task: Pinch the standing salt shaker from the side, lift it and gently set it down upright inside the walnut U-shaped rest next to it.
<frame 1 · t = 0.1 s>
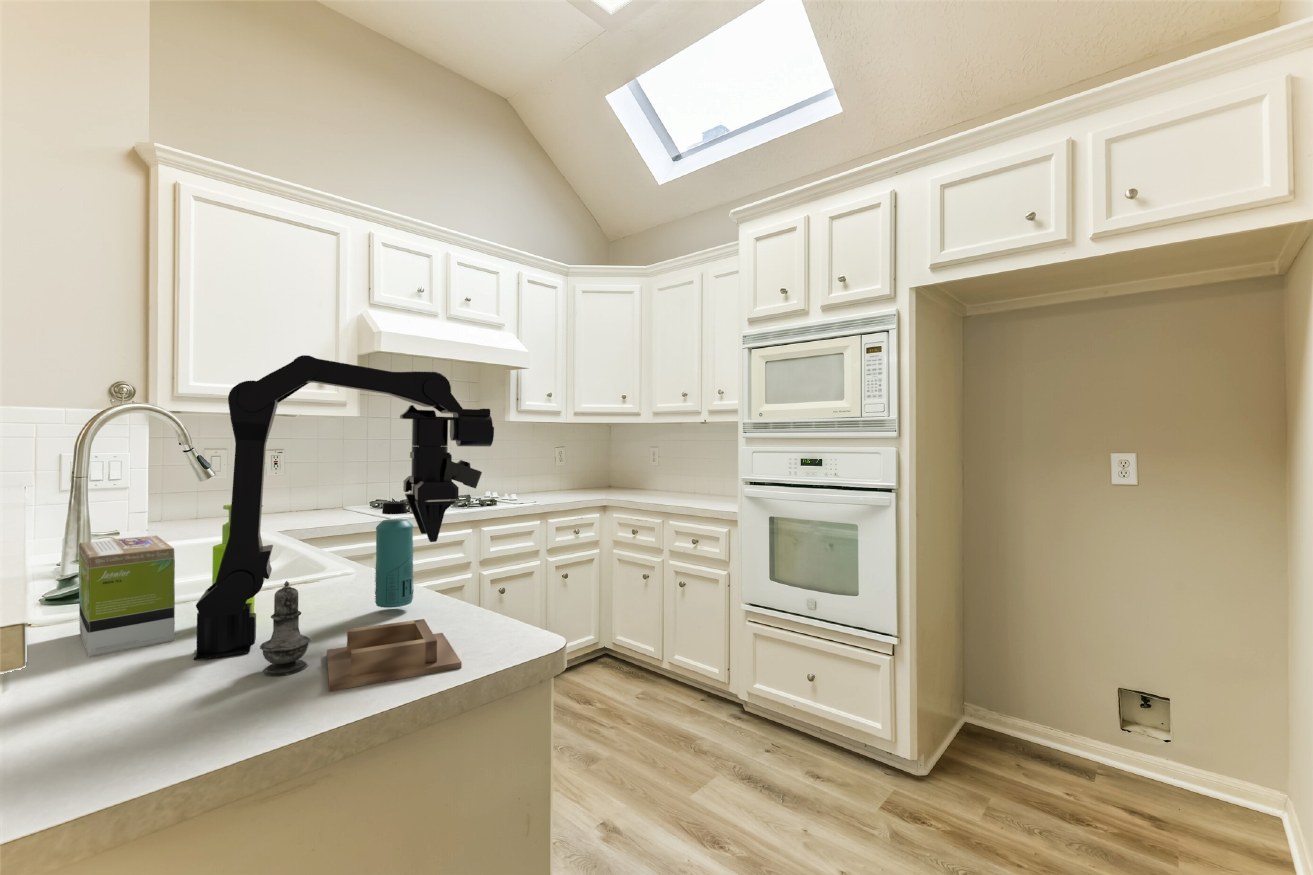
hand: (428, 537, 101), 15 cm above the countertop, fingers open, 9 cm apart
tea box: (125, 639, 92), on the countertop
soap dispenser: (236, 622, 101), on the countertop
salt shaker: (285, 670, 81), on the countertop
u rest: (392, 661, 84), on the countertop
beverage bottle: (393, 612, 108), on the countertop
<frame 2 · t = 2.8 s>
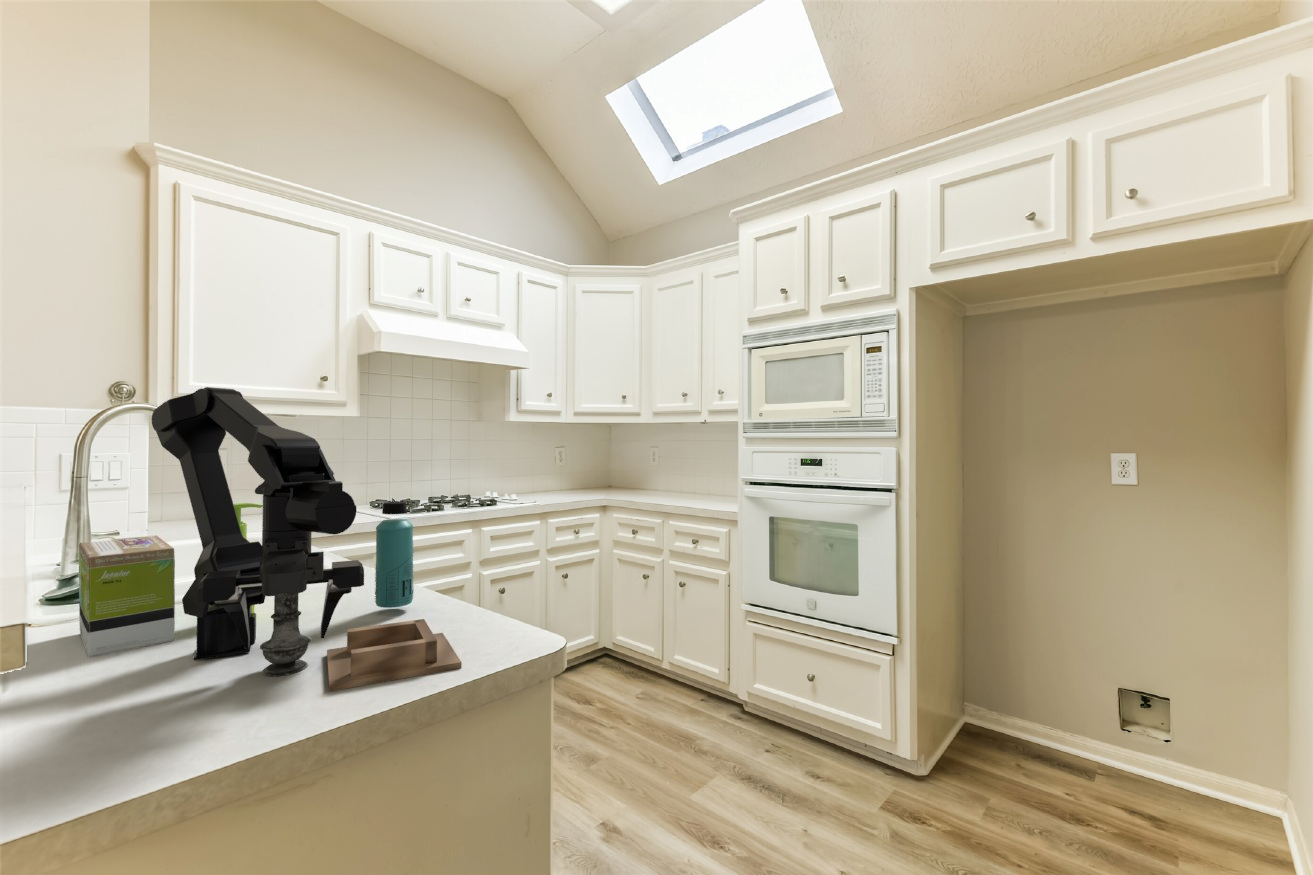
hand: (285, 642, 81), 4 cm above the countertop, fingers closed on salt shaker, 8 cm apart
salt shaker: (285, 670, 81), on the countertop, touching gripper
everything else where it was.
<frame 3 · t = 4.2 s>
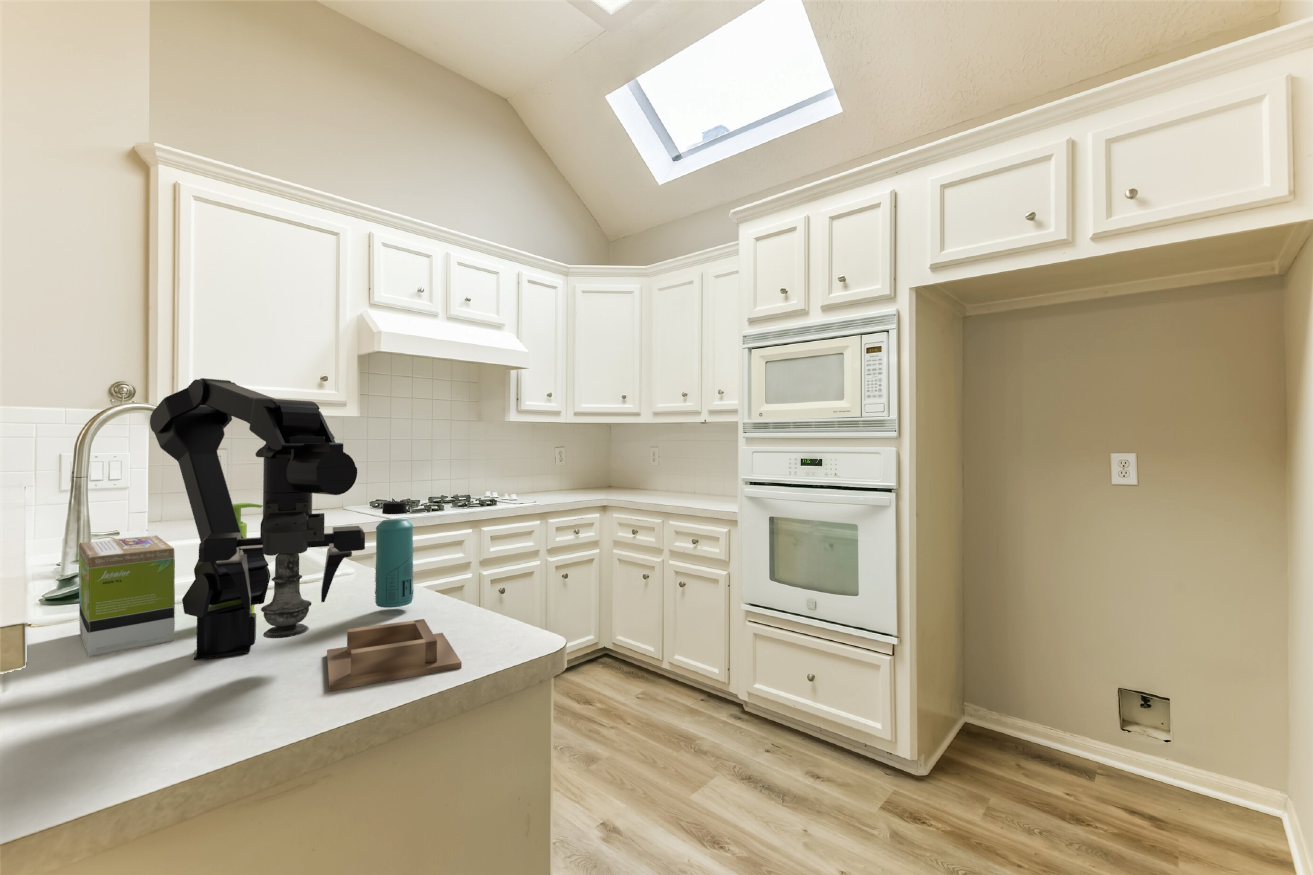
hand: (286, 605, 81), 9 cm above the countertop, fingers closed on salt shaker, 8 cm apart
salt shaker: (286, 633, 81), point 5 cm above the countertop, touching gripper
everything else where it was.
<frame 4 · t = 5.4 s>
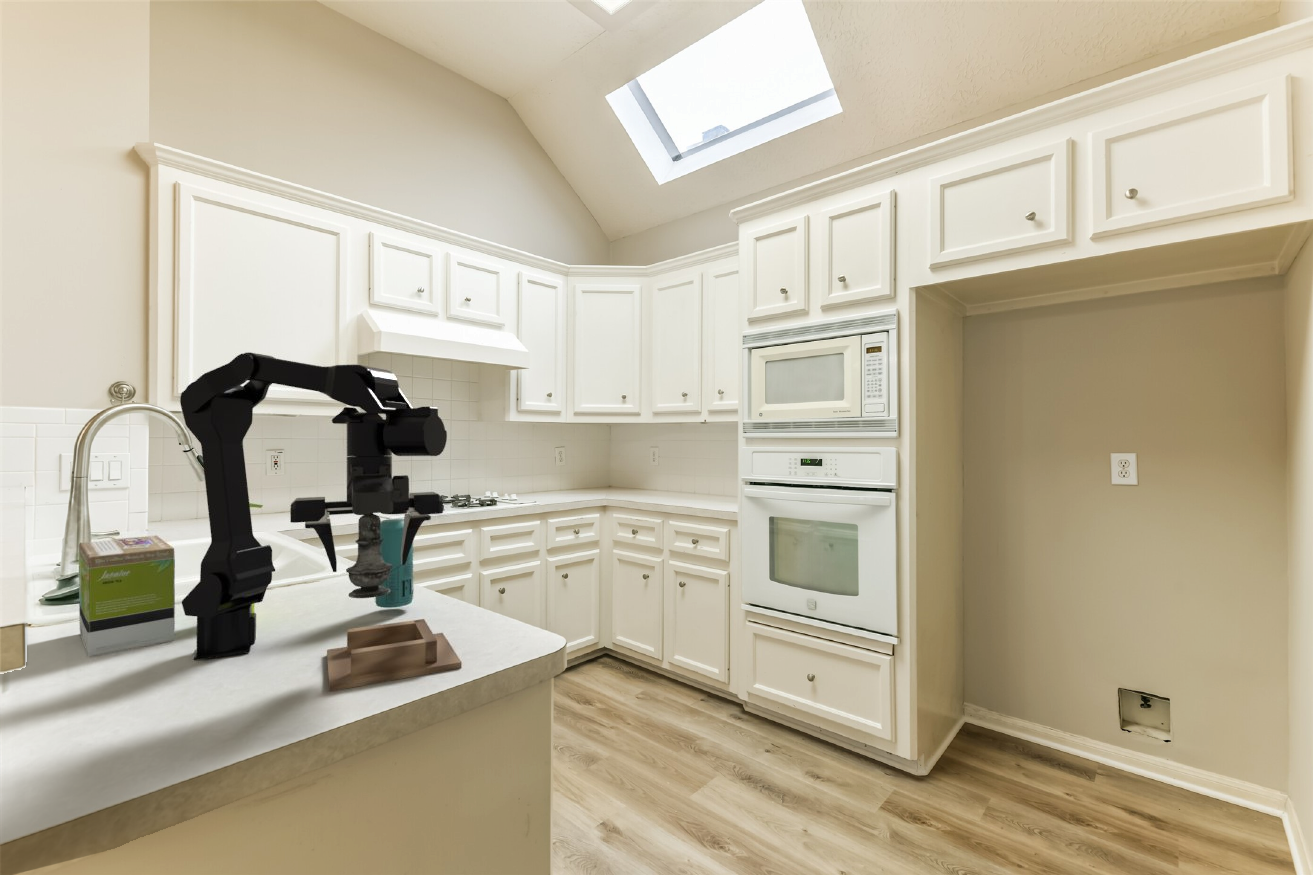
hand: (369, 568, 83), 13 cm above the countertop, fingers closed on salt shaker, 8 cm apart
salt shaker: (369, 594, 83), point 10 cm above the countertop, touching gripper
everything else where it was.
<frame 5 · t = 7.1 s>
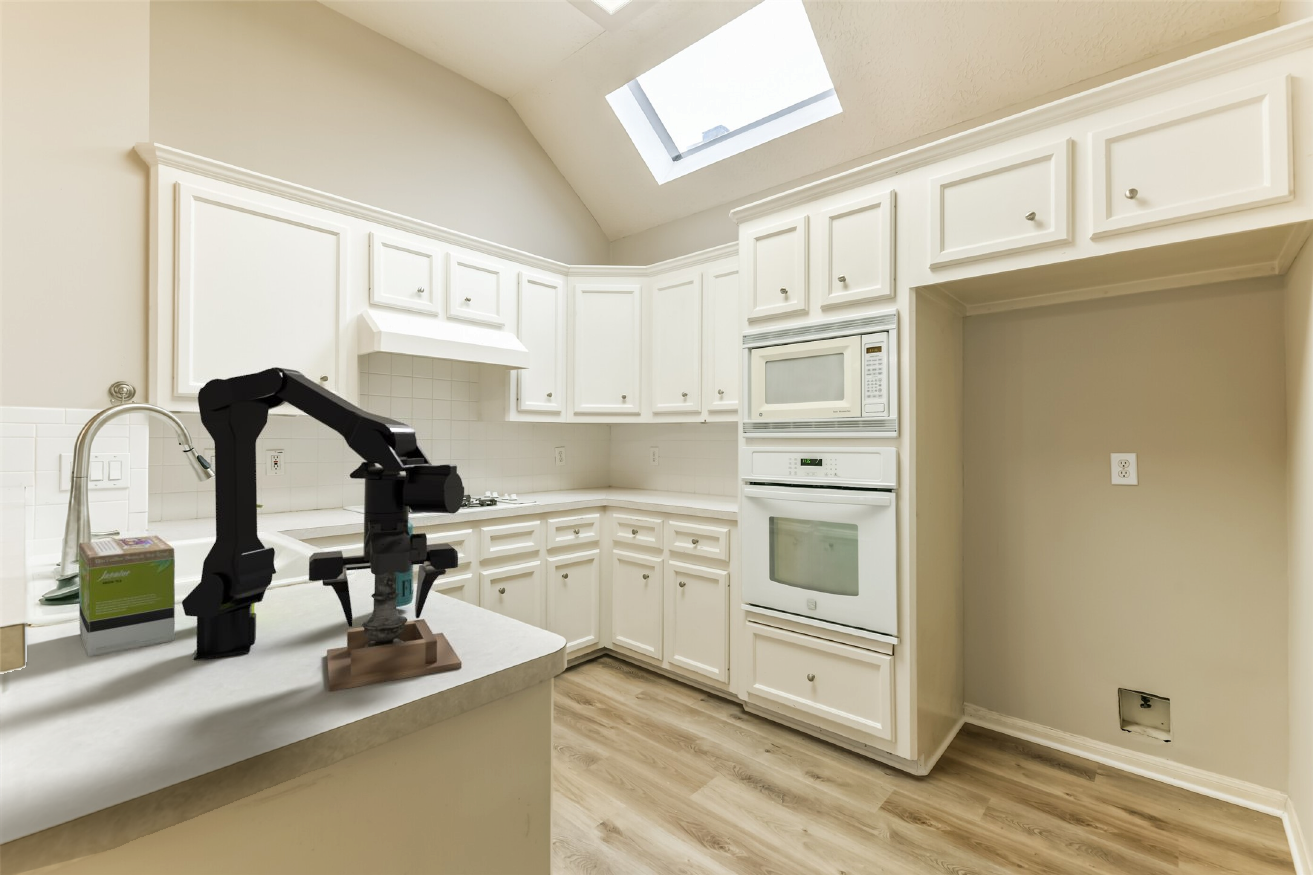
hand: (384, 621, 83), 6 cm above the countertop, fingers closed on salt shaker, 8 cm apart
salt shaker: (384, 648, 83), point 2 cm above the countertop, touching gripper
everything else where it was.
when the fingers open (6 cm above the countertop, at t = 8.3 s): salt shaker drops 1 cm, resting on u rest.
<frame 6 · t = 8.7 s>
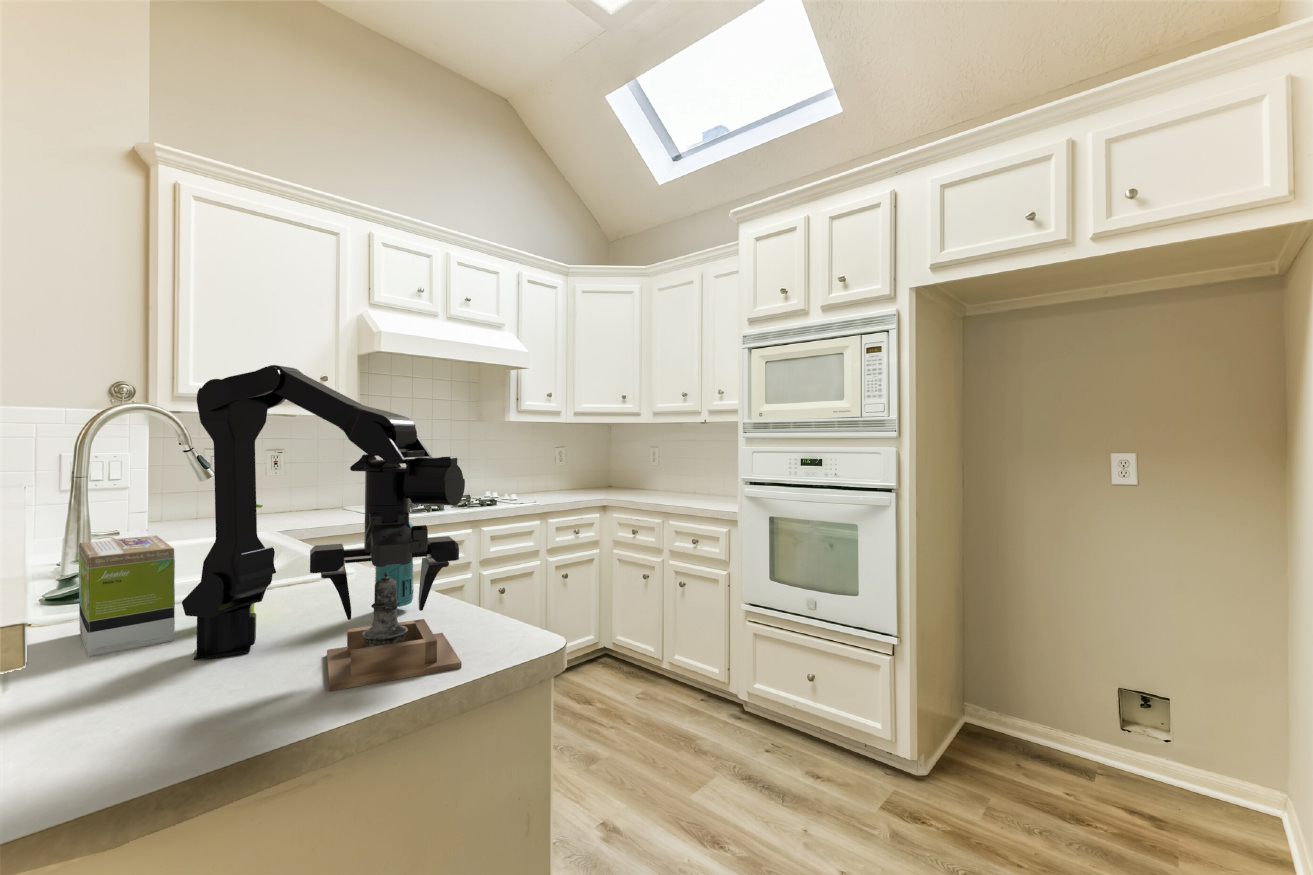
hand: (386, 614, 83), 7 cm above the countertop, fingers open, 9 cm apart
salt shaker: (384, 658, 83), point 1 cm above the countertop, touching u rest
everything else where it was.
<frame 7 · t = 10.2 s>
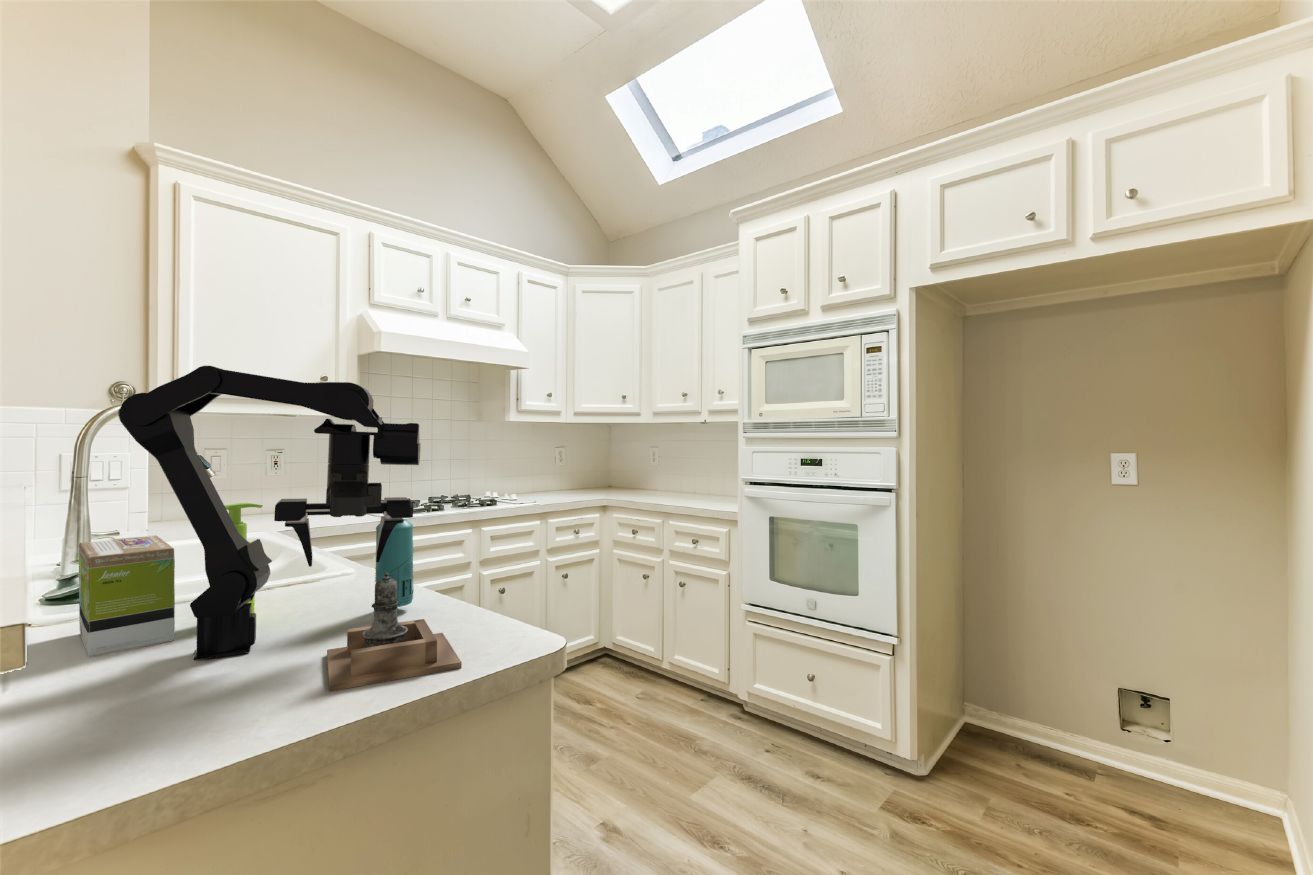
hand: (344, 564, 92), 12 cm above the countertop, fingers open, 9 cm apart
nothing on the countertop moved.
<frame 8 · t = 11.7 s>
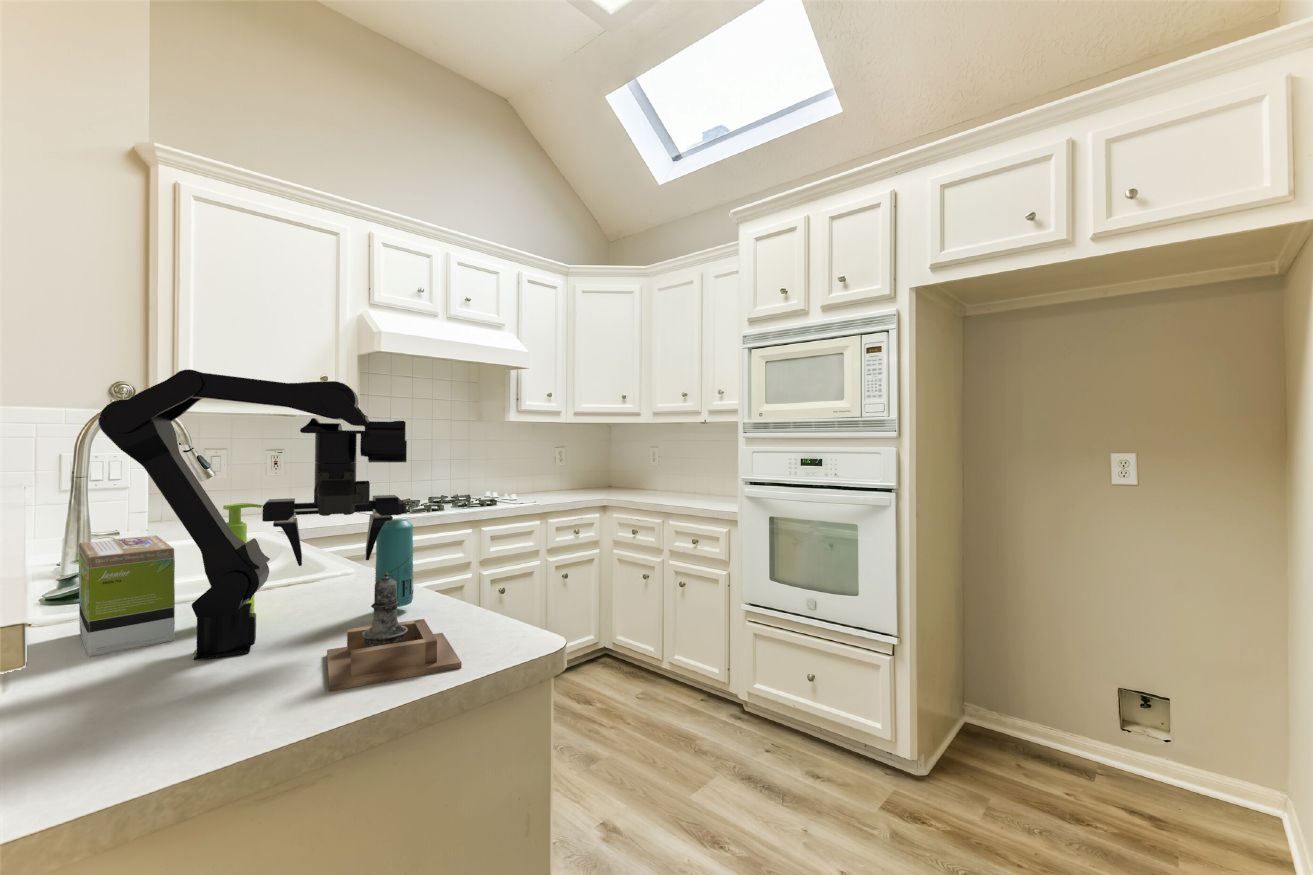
hand: (334, 562, 92), 12 cm above the countertop, fingers open, 9 cm apart
nothing on the countertop moved.
at the end: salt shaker 0.0 cm from the target spot on the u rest, point 0.6 cm above the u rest's base; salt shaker tilted 0°; the gripper is holding nothing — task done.
